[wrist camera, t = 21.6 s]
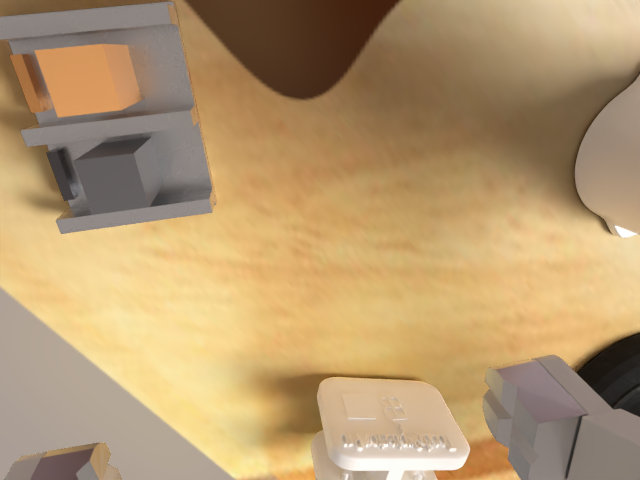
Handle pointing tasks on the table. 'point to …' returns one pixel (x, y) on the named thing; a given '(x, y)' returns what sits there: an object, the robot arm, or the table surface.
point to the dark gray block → (120, 175)
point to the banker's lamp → (617, 375)
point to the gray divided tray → (130, 123)
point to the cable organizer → (384, 431)
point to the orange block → (89, 78)
